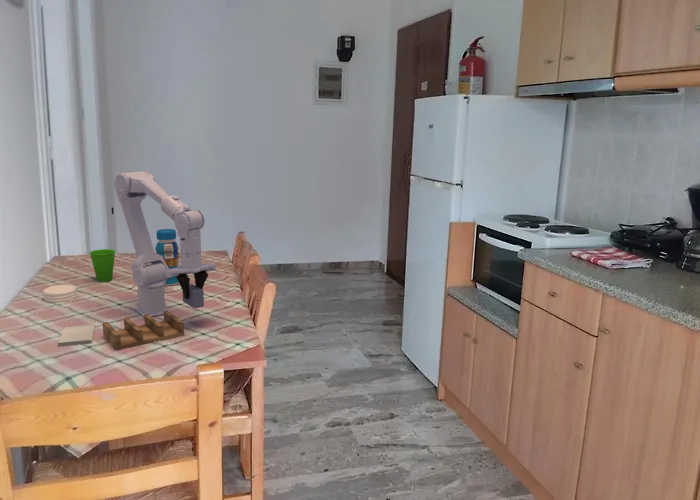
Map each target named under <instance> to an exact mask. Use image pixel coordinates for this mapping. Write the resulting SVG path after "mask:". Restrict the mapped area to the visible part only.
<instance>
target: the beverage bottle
mask: <svg viewBox="0 0 700 500" xmlns="http://www.w3.org/2000/svg"><path fill="white" fill-rule="evenodd" d="M176 230H177V229H174V228H163V229H157V230H156V233H155V234H156V240H157V241H158V242H157V243H156V245H155V248H154V251H155V253H157V254H159V255H160V256H162V257H163V259H164V261H165V263H166V265H167V266H168V268H169V269H172V268H176V267H180V258H181V255H180V253H179V249H180V247H179V244H178V243H177V242H176V239H177V232H176ZM178 284H179V285H180V283H179V282H178V280H177V278H176V276H172V277H170V278H168V279H167V280H166V284H164V287H171V286H177V285H178Z"/></svg>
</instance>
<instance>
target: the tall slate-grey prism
mask: <svg viewBox="0 0 700 500" xmlns="http://www.w3.org/2000/svg"><path fill="white" fill-rule="evenodd" d="M204 297H205V295H204V289H200V288H199V287H197V286H195V284H193V283H189V299H186V298H184V294H183V293H182V302H183V303H185V304H186V305H187V306H190V307H191V308H193V309H199V308H203V307H205V303H204V302H205V299H204Z"/></svg>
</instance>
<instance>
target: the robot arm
mask: <svg viewBox="0 0 700 500" xmlns="http://www.w3.org/2000/svg"><path fill="white" fill-rule="evenodd" d="M113 185H114V189H115V191H116V194H117V198H118V201H119V202H120V205H121V209H122V212H123V215H124V218H125V222H126V225H127V228H128V230H129V231H128V232H129V235H130V238H131V241H132V244H133V247H134V251H135V254H136V258H135V260H134V261H132V263H131V270H132V279H133V282H134V283H135V285H136V286H137V292H136V298H137V307H135V308H134V310H135V311H136V312H137V313H139V314H140V315H141V316H143V317H144V315H146V314H149V315H150V316H151V317H156V316H160V315H162V316H163V315H164V311H167V310H168V311H169V312H170V313H171V311H170V310H169V309H167V308H166V295H165V294H166V293H165V292H166V291H165V286H164V284H166V280H167V279H168V278H170V277H172V276H176V278H177V280H178V282H179V285H180V287H181V290H182V295H183V294H184V298H186V299H189V284H190V283H191V282H190V281H191V278H190V277H189V276H188V275H191V274H193V277H194V283H195V284H194V285H195V286H197V287H199V288H200V289H202V290H204V285H205V283H206V281H207V279H208V277H209V273H208V272H210V271H213V272H214V271H217V264H216V263H215V262H210V263H202V243H201V242H202V241H201V239H202V238H201V229H203V228H204V225H205V217H204V215H203V213H202V212H201V210H200V209H197V208H195V209H193V208H190V206H189V205H187V204H186V203H185V202H183V201H182V200H181V199H180V197H179V196H178V195H169V194H168V193H167V192H166V191H165V190H164V188H162V187H161V186H160V185H159V184H158V183H157V182H156V179H155V175H153V174H151V173H150V171H147V170H142V171H132V172H131V171H130V172H119V173H117V175H116V177H115V180H114V183H113ZM147 196H148V197H149V198H150V199H152V200H154V201H155V202H156V203H158V204H159V205H160V210H161V212H163V213H164V214H165V215H166V216H167V217H169V218H170V220H172V221H173V223H174V226H175V228H176V229H175V230H177V236H178V238H179V245H180V247H179V249H180V265H179V267H176V268H172V269H169V268H168V266H167V265H166V263H165V261H164V259H163V257H162V256H160V255H159V254H157V253H156V250H155V248H154V245H153V241H152V238H151V235H150V232H149V228H148V226H147V222H146V219H145V215H144V213H143V209H142V206H141V203H142V201H143V200H146V199H145V198H146V197H147Z"/></svg>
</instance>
